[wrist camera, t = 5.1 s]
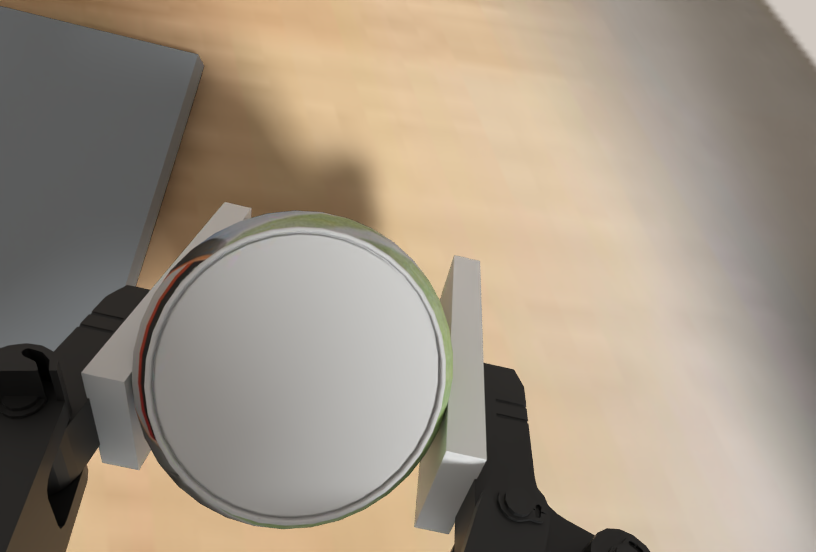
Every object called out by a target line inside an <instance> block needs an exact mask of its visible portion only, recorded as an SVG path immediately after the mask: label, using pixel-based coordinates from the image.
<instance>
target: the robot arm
mask: <svg viewBox="0 0 816 552" xmlns="http://www.w3.org/2000/svg"><path fill="white" fill-rule="evenodd" d="M250 218H251V208H249V207H244V206H240V205H236V204H232V203H227V202H224V203H223V205H222V206H221V207H220V208H219V209H218V210H217V212H216V213H215V214H214V215H213V216H212V218H211V219H210V220H209V221H208V222H207V224H206V225H205V226H204V227H203V228H202V230H201V231H200V232H199V233H198V234H197V235H196V237H195V238H194V239H193V240H192V241H191V243H190V244H189V245H188V246H187V247H186V249H185V250H184V251H183V252H182V253H181V254H180V256H179V257H178V258H177V259H176V260H175V262H174V263H173V264H172V265H171V266H170V268H169V269H168V270H167V271H166V272H165V274H164V275H163V276H162V277H161V278H160V279H159V281H158V282H157V283H156V284H155V285H154V287H153V288H152V289H151V290H148V289H144V288H139V287H135V286H130V285H126V286H124V287H122V288H120V289H118V290H116V291H115V292H113V293H111V294H109V295H107V296H106V297H105V298H104V299H103V300H102V301H101V302H100V303H99V304H98V305H97V306H96V307H95V308H94V309H93V310H92V313H91V314H89V315H88V316H87V317H86V318H85V319H84V320H83V321H82V322H81V323H80V326H79V327H76V328H75V329H74V330H73V332H72V333H71V334H70V335H69V336H68V337H67V338H66V339H65V340H64V341H63V342H62V343H61V344H60V345H59V346H58V347H57V348H56V350H55V351H54V352H53V351H52V350H50V349H48V348H46V347H44V346H42V345H36V344H29V343H24V344H15V345H8V346H5V347H2V348H0V552H66V549H67V546H68V542H69V539H70V536H71V533H72V529H73V526H74V523H75V520H76V516H77V513H78V510H79V507H80V503H81V500H82V497H83V494H84V490H85V487H86V484H87V480H88V468H87V463H88V461H89V460H90V459H91V457H92V456H93V454H94V453H95V451H96V450H97V448H98V447H99V450H100V455H101V459H102V463H107V464H112V465H117V466H121V467H126V468H131V469H136V470H139V469H140V468H141V466H142V464H143V463H144V461H145V459H146V457H147V456H148V454H149V452H150V451H151V449H150V447H149V445H148V443H147V441H146V440H145V438H144V435H143V432H142V429H141V425H140V422H139V419H138V416H137V413H136V410H135V403H134V395H133V387H132V367H133V351H134V347H135V343H136V339H137V335H138V331H139V327H140V323H141V321H142V318H143V316H144V314H145V312H146V310H147V308H148V305H149V303H150V301H151V299H152V297H153V295H154V293H155V292H156V290H157V289H158V288H159V286H160V285H161V283H162V282H163V280H164V279H165V278H166V276H167V275H168V273H169V272H170V270H171V269H172V268H173V267H174V266H175V265H176V264H177V263H178V262H179V261H180V260H181V259H182V258H183V257H184V256H185V255H186V254H187V253H188V252H189V251H190V250H192V249H193V248H195V247H196V246H197V245H199V244H200V243H202V242H203V241H204V240H206V239H207V238H209V237H210V236H212V235H213V234H214V233H216V232H219V231H221V230H223V229H225V228H227V227H229V226H231V225H233V224H235V223H237V222H240V221H243V220H246V219H250ZM440 302H441V305H442V308H443V311H444V314H445V317H446V320H447V323H448V326H449V331H450V337H451V344H452V350H453V379H452V385H451V391H450V396H449V400H448V405H447V408H446V412H445V415H444V417H443V420H442V423H441V426H440V429H439V431H438V433H437V435H436V436H435V438H434V440H433V442H432V444H431V446H430V447H429V449H428V451H427V453H426V454H425V456H424V457H423V458H422V459H421V461H420V466H419V477H418V489H417V500H416V512H415V523H414V527H416V528H421V529H426V530H431V531H436V532H440V533H445V534H449V533H450V531H451V529H452V527H453V525H454V523H455V544H454V546H453V548H452V550H451V552H650V551H649V549H648V548H647V547H646V545H644V544H643V543H642V542H641V541H639V540H638V539H637V538H636V537H635V536H633V535H631V534H629V533H627V532H625V531H622V530H620V529H608V528H607V529H605V530H603V531H600V532H598V533H597V534H596V535H593V534H591V533H589V532H588V531H586V530H584V529H582V528H580V527H578V526H576V525H575V524H573V523H571V522H569V521H567V520H566V519H564V518H563V517H561V516H560V515H558V514H557V513H556V512H555V511H554V510H553V509H552V508H550V507H549V506H548V504H547V502H546V499H545V497H544V495H543V494H542V493H541V492H540V491H539V489H538V488H537V485H536V481H535V476H534V468H533V459H532V451H531V442H530V434H529V425H528V424H527V421H528V417H527V409H526V400H525V392H524V386H523V385H522V383H521V381H520V379H519V378H518V376H517V374H516V372H515V371H514V370H513V369H509V368H504V367H500V366H495V365H491V364H486V363H483V335H482V306H481V277H480V261H478V260H473V259H469V258H465V257H460V256H456V255H454V257H453V261H452V264H451V267H450V270H449V273H448V276H447V279H446V282H445V286H444V289H443V292H442V295H441V298H440Z"/></svg>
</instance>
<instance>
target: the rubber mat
mask: <svg viewBox="0 0 816 552" xmlns="http://www.w3.org/2000/svg"><path fill="white" fill-rule="evenodd" d="M203 68H204V64H203V62H202V61H201V59H200V57H199V55H198V54H194V53H190V52H186V51H182V50H178V49H174V48H170V47H166V46H162V45H157V44H153V43H149V42H145V41H141V40H137V39H133V38H129V37H125V36H121V35H117V34H113V33H108V32H104V31H100V30H96V29H92V28H88V27H84V26H80V25H76V24H72V23H68V22H64V21H60V20H55V19H51V18H47V17H43V16H39V15H35V14H31V13H27V12H23V11H19V10H15V9H11V8H7V7H2V6H0V348H2V347H5V346H8V345H15V344H24V343H29V344H36V345H42V346H44V347H46V348H48V349H50V350H52V351H53V352H54V351H55V350H56V348H57V347H58V346H59V345H60V344H61V343H62V342H63V341H64V340H65V339H66V338H67V337H68V336H69V335H70V334H71V333H72V332H73V330H74V329H75V328H76V327H79V326H80V323H81V322H82V321H83V320H84V319H85V318H86V317H87V316H88V315H89V314H91V313H92V310H93V309H94V308H95V307H96V306H97V305H98V304H99V303H100V302H101V301H102V300H103V299H104V298H105V297H106V296H107V295H109V294H111V293H113V292H115V291H116V290H118V289H120V288H122V287H124V286H126V285H130V286H135V287H136V284H137V281H138V277H139V274H140V271H141V268H142V264H143V261H144V258H145V255H146V252H147V248H148V245H149V242H150V239H151V235H152V232H153V229H154V226H155V223H156V219H157V216H158V213H159V210H160V207H161V203H162V200H163V197H164V194H165V190H166V187H167V184H168V181H169V178H170V174H171V171H172V168H173V165H174V162H175V158H176V155H177V152H178V149H179V145H180V142H181V139H182V136H183V133H184V129H185V126H186V123H187V120H188V116H189V113H190V110H191V107H192V104H193V100H194V97H195V94H196V91H197V88H198V84H199V81H200V78H201V75H202V71H203Z"/></svg>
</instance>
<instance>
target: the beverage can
mask: <svg viewBox="0 0 816 552" xmlns="http://www.w3.org/2000/svg"><path fill="white" fill-rule="evenodd" d="M452 379H453V350H452V344H451V337H450V331H449V326H448V323H447V320H446V317H445V314H444V311H443V308H442V305H441V302H440V300H439V298H438V297H437V295H436V293H435V291H434V289H433V287H432V285H431V283H430V282H429V280H428V279H427V277H426V276H425V275H424V273H423V272H422V271H421V270H420V268H419V267H418V266H417V264H416V263H415V262H414V261H413V259H411V258H410V257H409V256H408V255H407V254H406V253H405V252H404V251H403V250H402V249H401V248H399V247H398V246H397V245H396V244H395V243H394V242H392V241H391V240H389V239H388V238H386V237H385V236H383V235H381V234H380V233H378V232H377V231H375V230H374V229H372V228H370V227H367V226H365V225H363V224H360V223H358V222H355V221H353V220H351V219H348V218H344V217H340V216H336V215H332V214H327V213H323V212H310V211H286V212H277V213H267V214H264V215H260V216H257V217H253V218H250V219H246V220H243V221H240V222H237V223H235V224H233V225H231V226H229V227H227V228H225V229H223V230H221V231H219V232H216V233H214V234H213V235H212V236H210V237H209V238H207V239H206V240H204V241H203V242H202V243H200V244H199V245H197V246H196V247H195V248H193V249H192V250H190V251H189V252H188V253H187V254H186V255H185V256H184V257H183V258H182V259H181V260H180V261H179V262H178V263H177V264H176V265H175V266H174V267H173V268H172V269H171V270H170V272H169V273H168V275H167V276H166V278H165V279H164V280H163V282H162V283H161V285H160V286H159V288H158V289H157V290H156V292H155V293H154V295H153V297H152V299H151V301H150V303H149V305H148V308H147V310H146V312H145V314H144V316H143V318H142V321H141V323H140V327H139V331H138V335H137V339H136V343H135V347H134V351H133V367H132V387H133V395H134V403H135V410H136V413H137V416H138V419H139V422H140V425H141V429H142V432H143V435H144V438H145V440H146V441H147V443H148V445H149V447H150V449H151V450H152V452H153V454H154V456H155V457H156V459H157V461H158V463H159V464H160V465H161V467H162V468H163V469H164V470H165V471H166V472H167V474H168V475H169V476H170V477H171V478H172V480H173V481H174V482H175V483H176V484H177V485H178V486H179V487H180V488H181V489H182V490H184V491H185V492H186V493H188V494H189V495H190V496H191V497H193V498H194V499H195V500H196V501H198V502H199V503H200V504H202V505H204V506H205V507H207V508H209V509H211V510H213V511H215V512H217V513H219V514H221V515H223V516H225V517H227V518H230V519H233V520H237V521H240V522H243V523H246V524H250V525H253V526H260V527H269V528H278V529H292V528H307V527H314V526H318V525H322V524H327V523H331V522H335V521H339V520H341V519H344V518H346V517H348V516H351V515H353V514H355V513H357V512H360V511H362V510H364V509H366V508H368V507H369V506H371V505H372V504H374V503H375V502H377V501H378V500H380V499H381V498H383V497H385V496H386V495H388V494H389V493H390V492H391V491H392V490H393V489H395V488H396V487H397V486H398V485H399V484H400V483H401V482H402V481H403V480H404V479H405V478H407V477H408V476H409V475H410V473H411V472H412V471H413V470H414V468H415V467H416V466H417V464H418V463H419V462H420V461H421V459H422V458H423V457H424V456H425V454H426V453H427V451H428V449H429V447H430V446H431V444H432V442H433V440H434V438H435V436H436V435H437V433H438V431H439V429H440V426H441V423H442V420H443V417H444V415H445V412H446V408H447V405H448V400H449V396H450V391H451V385H452Z"/></svg>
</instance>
